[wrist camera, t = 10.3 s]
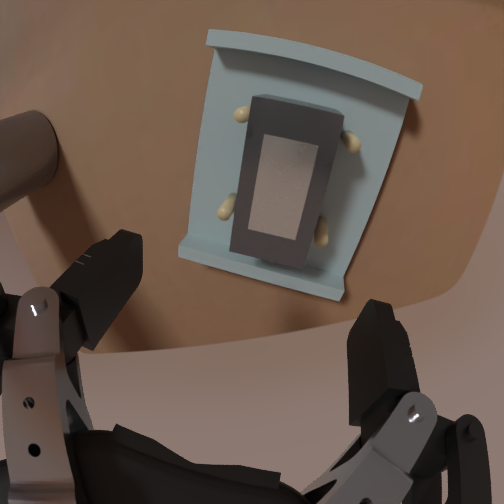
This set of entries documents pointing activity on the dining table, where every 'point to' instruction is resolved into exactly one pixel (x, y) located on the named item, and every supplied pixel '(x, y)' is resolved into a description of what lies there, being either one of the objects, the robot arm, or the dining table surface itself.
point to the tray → (344, 166)
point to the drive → (283, 177)
